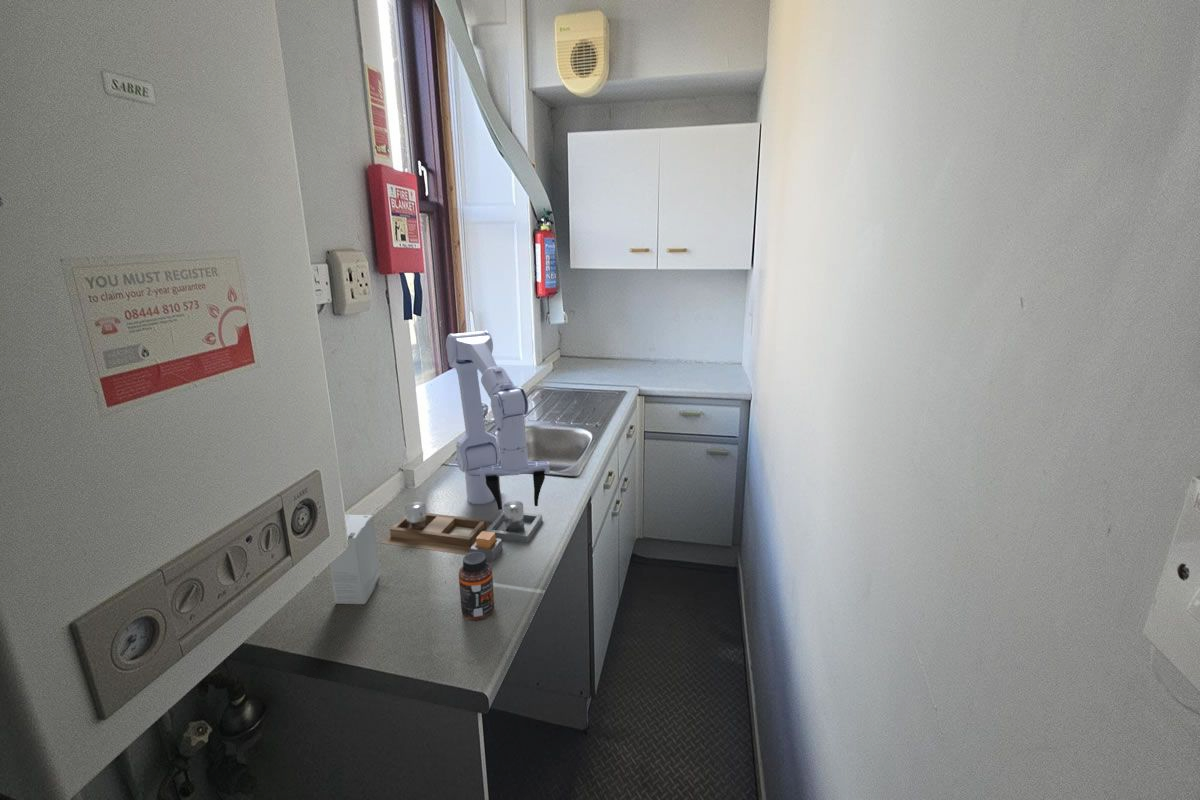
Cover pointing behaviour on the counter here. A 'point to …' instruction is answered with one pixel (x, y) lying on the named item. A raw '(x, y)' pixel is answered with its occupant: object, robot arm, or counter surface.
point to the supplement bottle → (476, 587)
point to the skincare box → (356, 562)
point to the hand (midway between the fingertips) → (518, 506)
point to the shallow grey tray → (529, 528)
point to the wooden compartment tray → (439, 533)
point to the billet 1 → (416, 515)
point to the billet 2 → (514, 516)
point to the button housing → (489, 550)
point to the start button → (485, 540)
